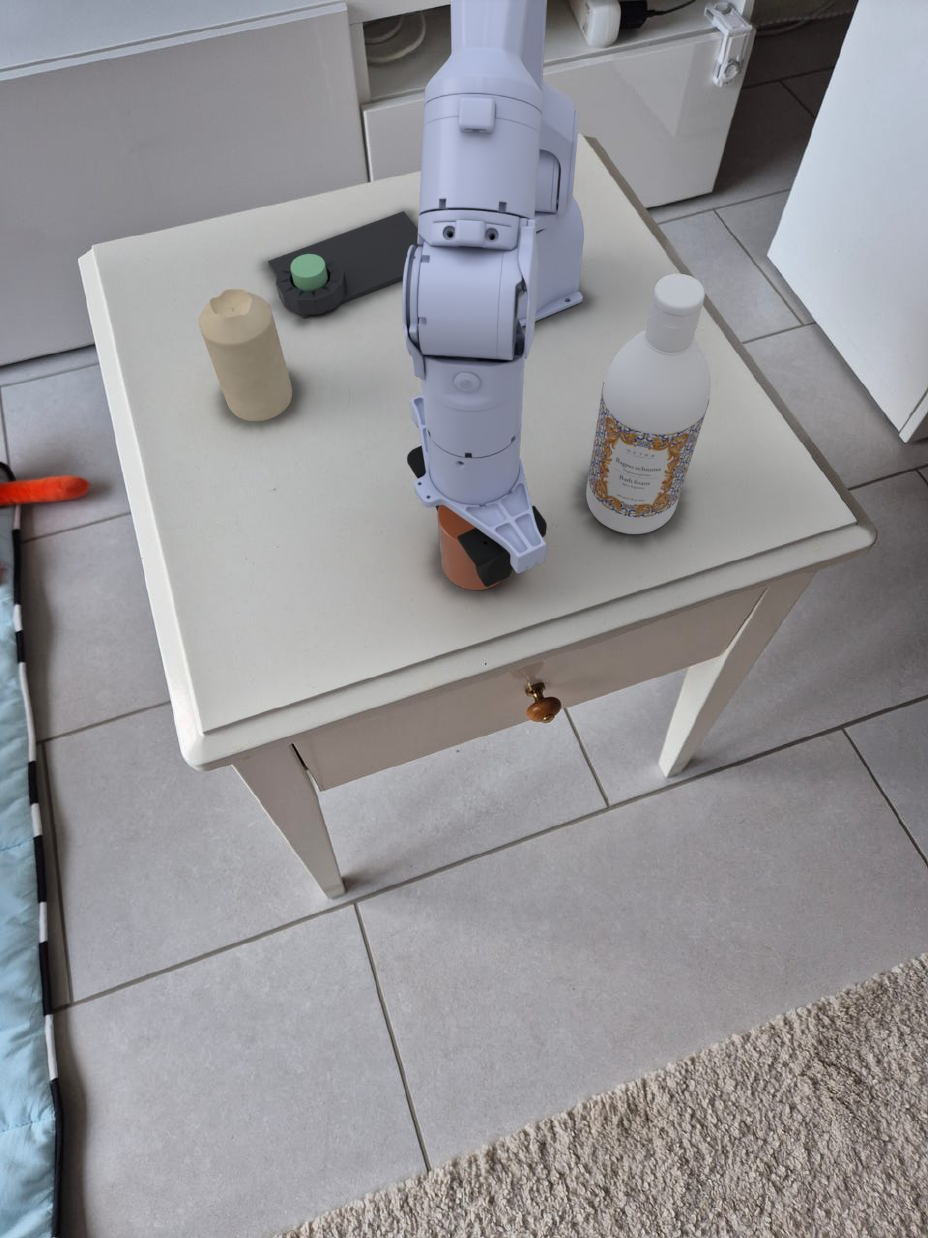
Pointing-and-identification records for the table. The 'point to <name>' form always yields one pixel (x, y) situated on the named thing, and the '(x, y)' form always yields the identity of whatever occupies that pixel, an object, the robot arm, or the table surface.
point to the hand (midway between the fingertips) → (475, 548)
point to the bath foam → (651, 414)
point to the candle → (246, 354)
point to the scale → (350, 264)
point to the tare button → (309, 272)
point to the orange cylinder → (456, 551)
